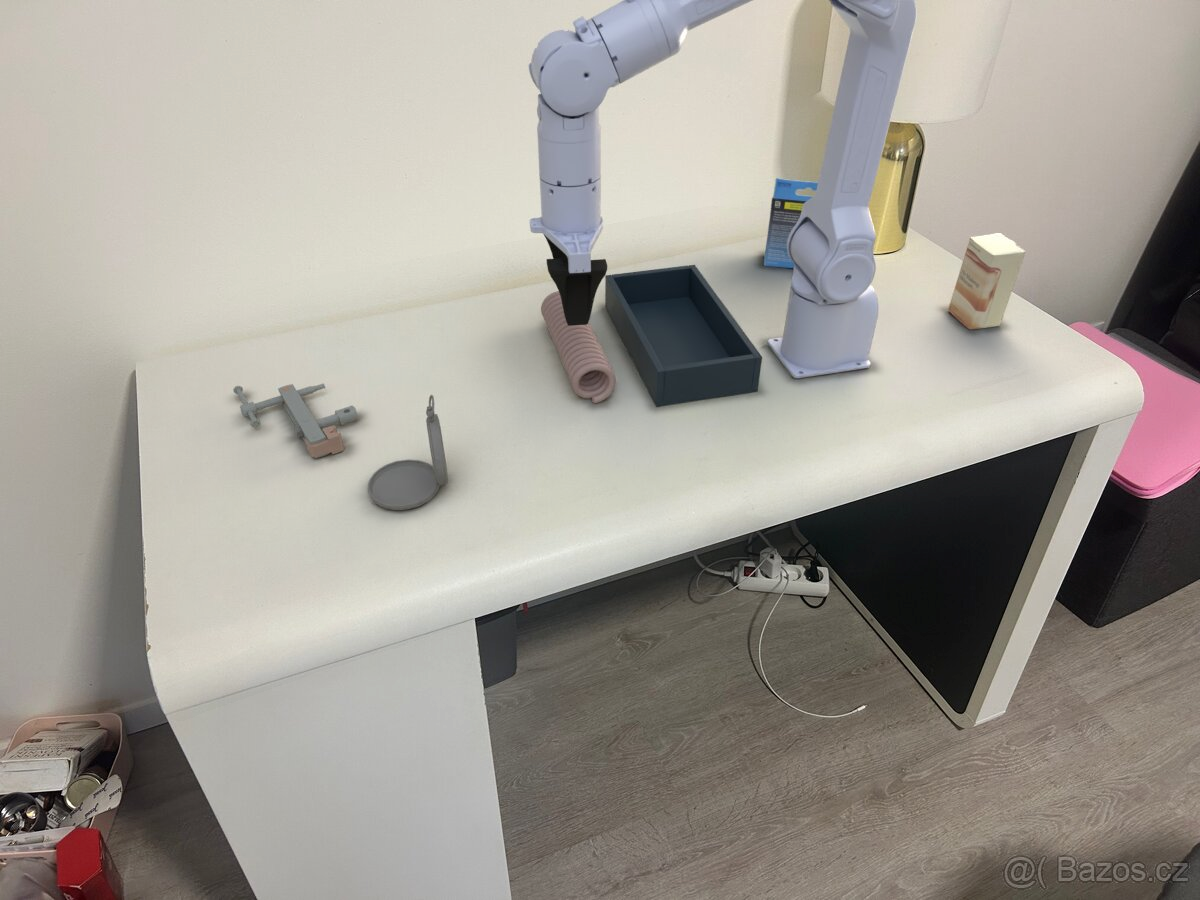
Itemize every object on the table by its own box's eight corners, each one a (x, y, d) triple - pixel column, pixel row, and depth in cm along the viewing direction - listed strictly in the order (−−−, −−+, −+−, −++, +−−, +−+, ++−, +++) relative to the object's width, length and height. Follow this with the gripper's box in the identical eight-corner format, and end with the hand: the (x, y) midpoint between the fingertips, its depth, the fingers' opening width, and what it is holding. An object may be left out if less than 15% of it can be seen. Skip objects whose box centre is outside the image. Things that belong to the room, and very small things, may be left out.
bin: (692, 296, 109) (694, 264, 106) (757, 391, 92) (762, 356, 90) (605, 307, 107) (605, 275, 104) (656, 407, 90) (657, 371, 87)
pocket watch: (355, 491, 80) (334, 405, 74) (426, 450, 85) (412, 366, 78) (408, 532, 76) (390, 445, 69) (480, 486, 80) (469, 401, 74)
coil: (619, 366, 88) (578, 286, 102) (576, 369, 87) (540, 288, 101) (614, 403, 91) (575, 320, 105) (572, 406, 90) (538, 322, 103)
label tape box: (829, 260, 117) (845, 173, 109) (828, 274, 114) (845, 184, 106) (765, 254, 118) (776, 167, 110) (762, 267, 115) (774, 179, 107)
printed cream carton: (945, 310, 106) (967, 235, 100) (977, 306, 107) (1001, 231, 100) (969, 331, 102) (993, 254, 96) (1001, 327, 103) (1027, 250, 96)
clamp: (368, 424, 84) (268, 458, 80) (372, 441, 86) (273, 476, 82) (320, 355, 94) (228, 382, 90) (324, 371, 96) (234, 399, 92)
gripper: (522, 150, 84) (530, 274, 93) (532, 209, 73) (540, 344, 81) (593, 146, 85) (594, 270, 93) (613, 204, 74) (612, 339, 82)
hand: (573, 304), depth 87 cm, fingers open, 7 cm apart
